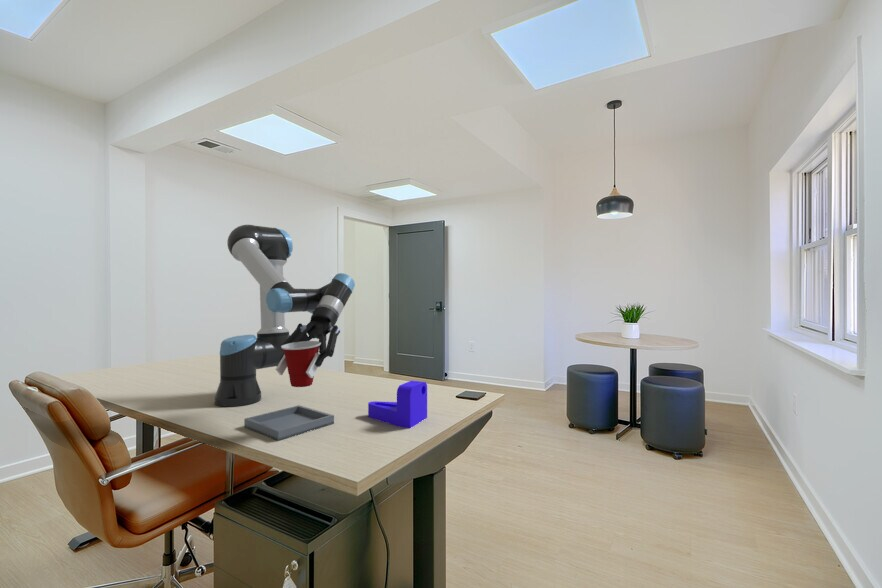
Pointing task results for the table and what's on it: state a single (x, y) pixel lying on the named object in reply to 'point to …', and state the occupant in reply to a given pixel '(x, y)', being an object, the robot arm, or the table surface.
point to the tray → (288, 422)
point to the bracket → (403, 406)
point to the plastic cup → (300, 361)
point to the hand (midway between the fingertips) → (293, 373)
